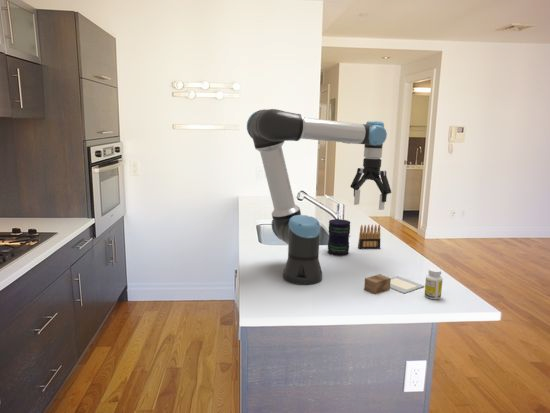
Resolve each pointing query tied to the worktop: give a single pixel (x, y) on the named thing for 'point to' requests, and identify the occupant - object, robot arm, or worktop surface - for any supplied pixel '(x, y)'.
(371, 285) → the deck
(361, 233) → the ammunition clip
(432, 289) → the supplement bottle
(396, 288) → the mat
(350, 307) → the worktop surface
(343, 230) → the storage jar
